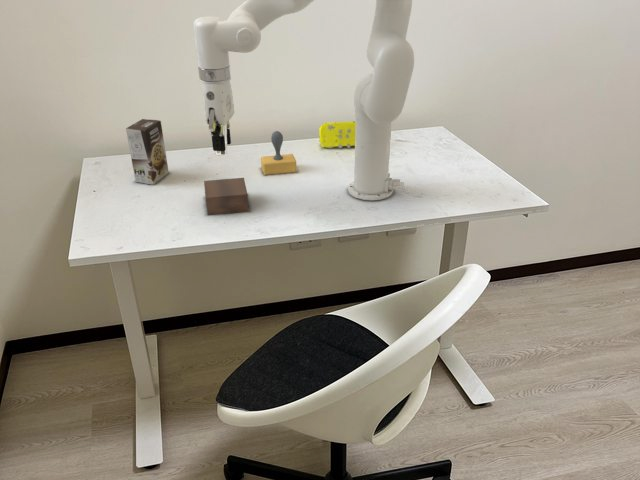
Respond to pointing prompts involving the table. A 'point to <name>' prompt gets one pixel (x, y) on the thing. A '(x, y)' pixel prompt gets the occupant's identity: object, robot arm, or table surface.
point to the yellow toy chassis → (337, 134)
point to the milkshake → (225, 139)
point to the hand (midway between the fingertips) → (222, 146)
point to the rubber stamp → (278, 159)
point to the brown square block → (226, 196)
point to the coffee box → (147, 151)
